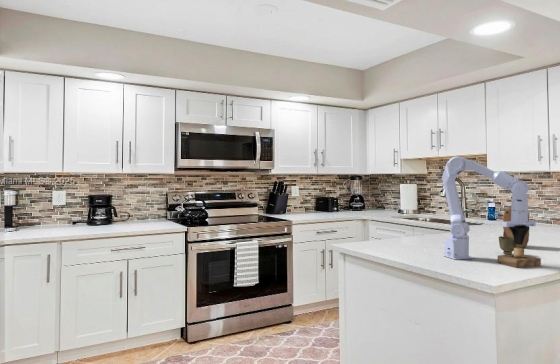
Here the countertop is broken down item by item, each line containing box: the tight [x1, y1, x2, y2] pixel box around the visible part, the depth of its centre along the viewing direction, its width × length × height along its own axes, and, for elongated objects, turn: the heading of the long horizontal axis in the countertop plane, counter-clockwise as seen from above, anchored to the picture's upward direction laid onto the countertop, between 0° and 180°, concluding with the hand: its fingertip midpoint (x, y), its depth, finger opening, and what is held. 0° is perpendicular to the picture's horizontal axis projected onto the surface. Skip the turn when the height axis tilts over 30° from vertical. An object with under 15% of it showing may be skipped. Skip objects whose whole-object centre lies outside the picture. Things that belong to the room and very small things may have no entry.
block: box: [502, 206, 530, 249], centre depth 191 cm, size 11×8×20 cm
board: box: [497, 254, 542, 269], centre depth 152 cm, size 12×9×3 cm
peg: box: [513, 247, 525, 259], centre depth 152 cm, size 4×4×6 cm
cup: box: [498, 235, 517, 255], centre depth 172 cm, size 8×7×8 cm
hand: (518, 244), depth 152 cm, fingers closed
